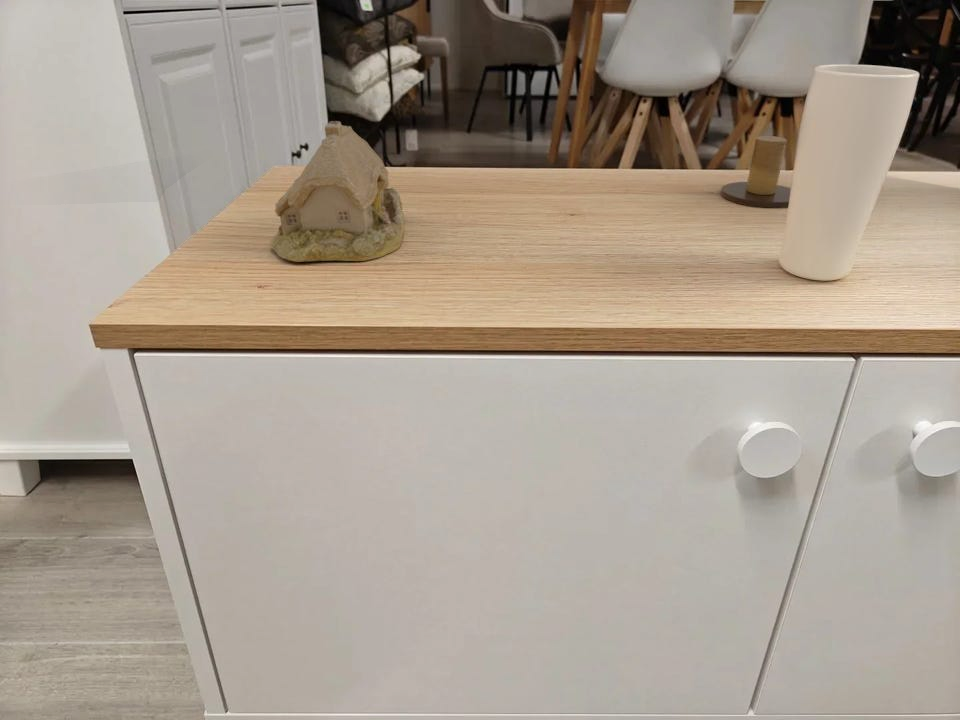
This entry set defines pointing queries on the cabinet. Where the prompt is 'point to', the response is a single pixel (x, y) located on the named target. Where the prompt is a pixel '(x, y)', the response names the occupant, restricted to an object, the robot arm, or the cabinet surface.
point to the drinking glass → (842, 163)
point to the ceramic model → (340, 204)
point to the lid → (762, 177)
